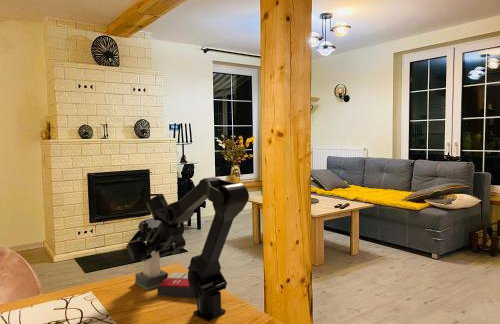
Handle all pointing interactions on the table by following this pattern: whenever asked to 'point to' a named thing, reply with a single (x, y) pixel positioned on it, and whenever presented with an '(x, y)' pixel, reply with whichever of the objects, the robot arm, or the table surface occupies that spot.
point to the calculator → (176, 286)
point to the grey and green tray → (150, 280)
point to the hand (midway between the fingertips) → (148, 258)
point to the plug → (151, 264)
